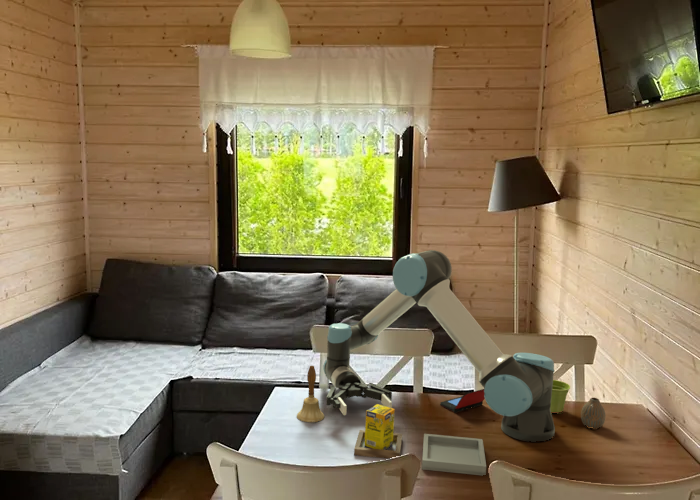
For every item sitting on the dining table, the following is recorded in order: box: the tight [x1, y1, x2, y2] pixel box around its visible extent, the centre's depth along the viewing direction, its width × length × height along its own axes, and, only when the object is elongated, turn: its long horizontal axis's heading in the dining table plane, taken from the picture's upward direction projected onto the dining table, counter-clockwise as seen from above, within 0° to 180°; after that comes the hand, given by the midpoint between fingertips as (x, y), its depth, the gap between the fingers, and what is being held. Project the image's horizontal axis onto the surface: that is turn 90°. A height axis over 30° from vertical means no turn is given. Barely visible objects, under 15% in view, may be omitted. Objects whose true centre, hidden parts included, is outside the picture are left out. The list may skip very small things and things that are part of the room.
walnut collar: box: [353, 429, 403, 460], centre depth 181 cm, size 12×12×2 cm
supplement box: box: [363, 403, 396, 450], centre depth 180 cm, size 6×6×11 cm
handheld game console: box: [439, 388, 485, 413], centre depth 212 cm, size 12×11×7 cm
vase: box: [580, 397, 606, 429], centre depth 200 cm, size 7×7×9 cm
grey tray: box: [421, 433, 487, 476], centre depth 177 cm, size 16×16×2 cm
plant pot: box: [550, 379, 571, 412], centre depth 211 cm, size 9×9×9 cm
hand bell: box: [296, 365, 325, 423], centre depth 198 cm, size 8×8×16 cm
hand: (368, 408), depth 189 cm, fingers open, 13 cm apart
